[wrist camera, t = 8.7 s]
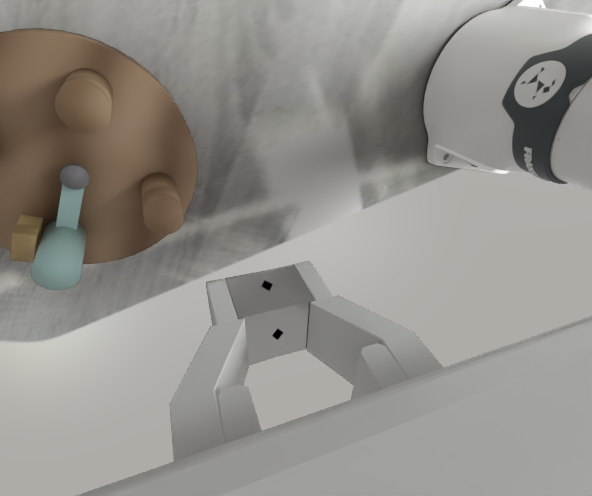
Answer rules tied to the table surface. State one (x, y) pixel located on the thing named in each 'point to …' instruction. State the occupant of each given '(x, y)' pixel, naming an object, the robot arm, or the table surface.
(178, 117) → the stool seat
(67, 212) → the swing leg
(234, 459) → the robot arm
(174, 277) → the table surface
